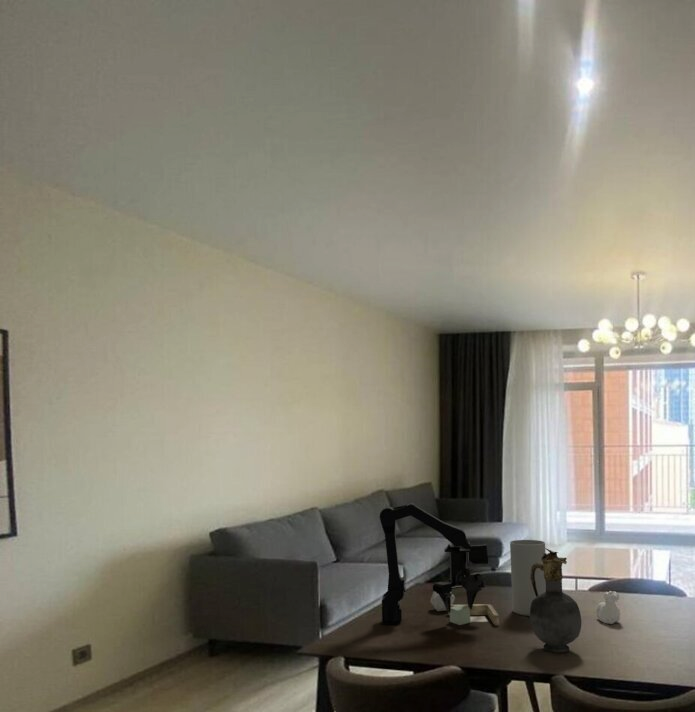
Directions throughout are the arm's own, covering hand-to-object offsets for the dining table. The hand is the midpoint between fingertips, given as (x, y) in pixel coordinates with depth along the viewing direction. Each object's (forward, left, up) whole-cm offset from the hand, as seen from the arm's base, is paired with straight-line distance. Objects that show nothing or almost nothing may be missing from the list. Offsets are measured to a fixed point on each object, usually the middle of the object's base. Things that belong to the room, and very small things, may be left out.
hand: (459, 610), depth 271 cm
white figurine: (+51, -2, -4) cm, 51 cm away
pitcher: (+24, -32, -4) cm, 40 cm away
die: (-4, +19, -4) cm, 20 cm away
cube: (0, 0, -4) cm, 4 cm away
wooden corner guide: (+5, +4, -4) cm, 8 cm away
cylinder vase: (+27, +13, -4) cm, 30 cm away
